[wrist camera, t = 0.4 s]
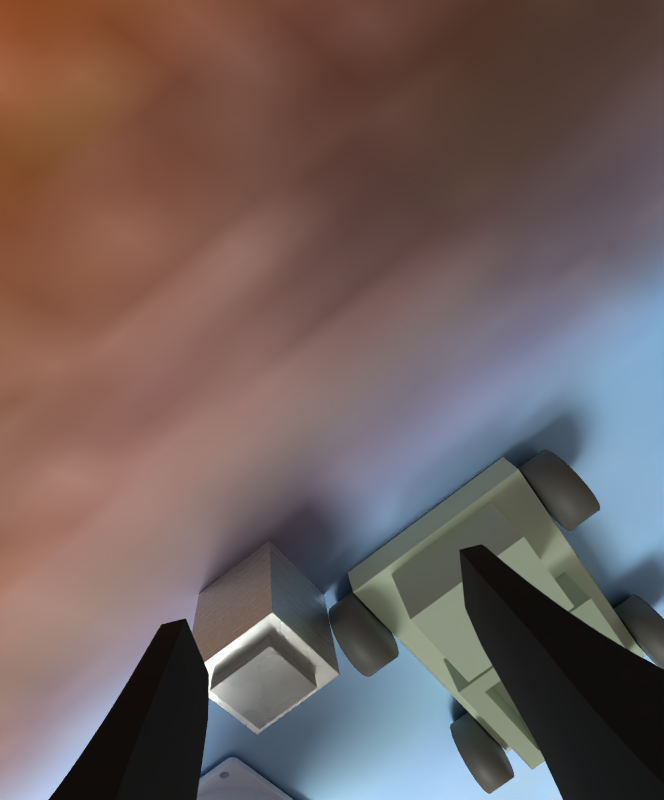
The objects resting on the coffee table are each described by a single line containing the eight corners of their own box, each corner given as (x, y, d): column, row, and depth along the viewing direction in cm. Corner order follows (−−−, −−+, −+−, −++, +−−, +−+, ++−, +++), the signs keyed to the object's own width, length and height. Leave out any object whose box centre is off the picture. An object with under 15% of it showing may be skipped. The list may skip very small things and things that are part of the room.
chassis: (473, 743, 29) (510, 825, 25) (321, 591, 24) (335, 662, 20) (648, 620, 28) (716, 683, 24) (529, 436, 23) (590, 475, 19)
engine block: (257, 643, 25) (257, 748, 19) (199, 592, 23) (182, 691, 18) (323, 593, 24) (342, 687, 19) (269, 539, 23) (272, 623, 18)
